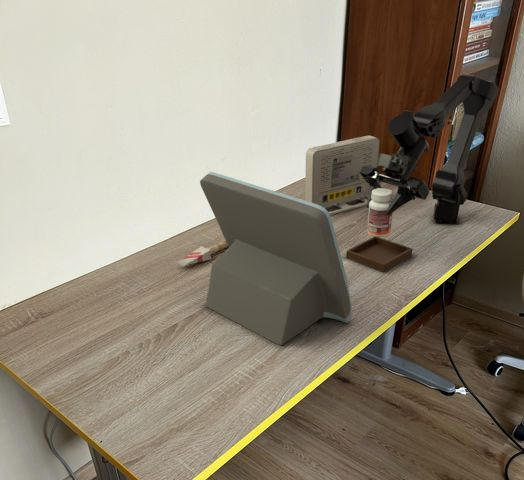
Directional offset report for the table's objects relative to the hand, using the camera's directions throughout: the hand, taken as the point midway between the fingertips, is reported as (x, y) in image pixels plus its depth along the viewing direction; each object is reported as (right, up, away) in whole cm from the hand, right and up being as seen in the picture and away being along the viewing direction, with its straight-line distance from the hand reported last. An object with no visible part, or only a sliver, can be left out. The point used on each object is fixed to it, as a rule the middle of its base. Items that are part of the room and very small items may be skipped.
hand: (377, 210), depth 143 cm
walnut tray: (+2, -11, +8) cm, 13 cm away
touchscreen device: (-28, -26, -12) cm, 40 cm away
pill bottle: (+1, -5, +5) cm, 7 cm away
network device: (-4, +11, +39) cm, 41 cm away
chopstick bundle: (-45, -10, +11) cm, 48 cm away
